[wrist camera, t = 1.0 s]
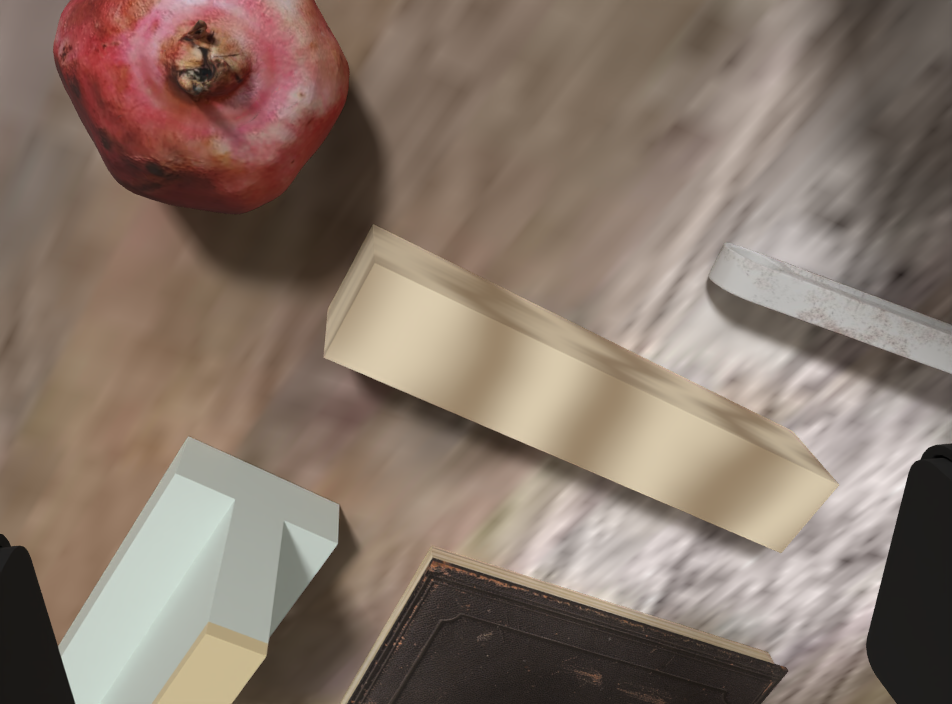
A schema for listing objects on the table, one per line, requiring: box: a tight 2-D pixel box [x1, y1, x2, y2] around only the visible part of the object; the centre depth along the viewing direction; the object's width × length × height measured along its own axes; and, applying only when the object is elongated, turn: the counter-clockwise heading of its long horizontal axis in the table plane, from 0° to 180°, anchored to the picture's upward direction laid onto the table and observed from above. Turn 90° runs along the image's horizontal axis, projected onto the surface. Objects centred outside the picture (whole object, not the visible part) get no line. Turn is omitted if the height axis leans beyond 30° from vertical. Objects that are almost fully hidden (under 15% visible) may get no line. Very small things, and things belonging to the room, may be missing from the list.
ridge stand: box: [58, 436, 339, 704], centre depth 38 cm, size 16×8×11 cm, turn 146°
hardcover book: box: [340, 546, 788, 704], centre depth 49 cm, size 16×23×2 cm
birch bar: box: [324, 224, 839, 553], centre depth 38 cm, size 24×4×5 cm, turn 60°
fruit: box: [53, 0, 349, 214], centre depth 27 cm, size 9×10×10 cm
